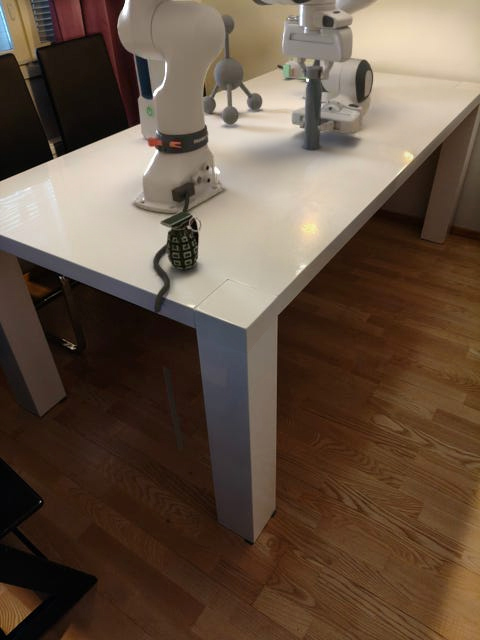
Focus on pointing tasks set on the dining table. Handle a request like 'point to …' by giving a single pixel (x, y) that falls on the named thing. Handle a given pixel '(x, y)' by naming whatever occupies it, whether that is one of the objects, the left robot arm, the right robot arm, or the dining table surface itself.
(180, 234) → the grenade
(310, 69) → the cap
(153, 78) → the electronic device
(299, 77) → the decorative block
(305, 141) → the bottle
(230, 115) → the molecular model
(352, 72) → the right robot arm
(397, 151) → the dining table surface
